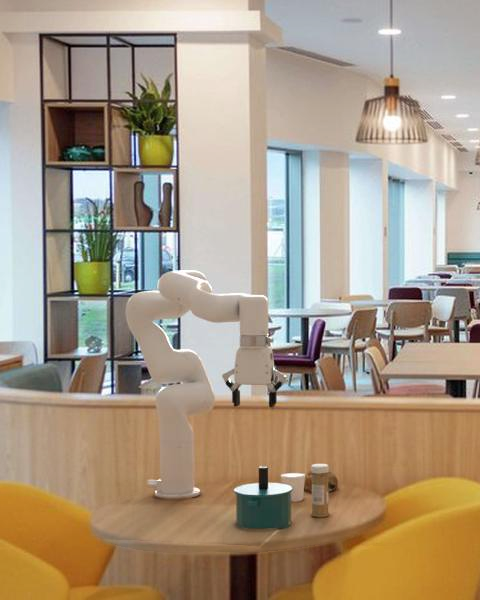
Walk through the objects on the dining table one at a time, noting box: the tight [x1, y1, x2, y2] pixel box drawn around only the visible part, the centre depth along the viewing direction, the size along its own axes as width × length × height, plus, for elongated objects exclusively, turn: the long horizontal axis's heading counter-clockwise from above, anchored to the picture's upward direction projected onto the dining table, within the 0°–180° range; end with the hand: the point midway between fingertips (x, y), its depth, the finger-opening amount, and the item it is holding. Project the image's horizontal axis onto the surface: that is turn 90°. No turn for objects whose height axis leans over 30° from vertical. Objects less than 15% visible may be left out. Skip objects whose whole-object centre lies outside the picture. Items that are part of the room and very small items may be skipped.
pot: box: [235, 493, 292, 530], centre depth 270 cm, size 14×19×8 cm
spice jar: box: [310, 463, 330, 518], centre depth 279 cm, size 5×5×14 cm
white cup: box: [280, 472, 306, 503], centre depth 298 cm, size 7×7×7 cm
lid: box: [234, 465, 292, 497], centre depth 270 cm, size 15×15×7 cm
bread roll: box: [304, 469, 339, 493], centre depth 311 cm, size 10×10×8 cm
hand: (254, 406), depth 282 cm, fingers open, 9 cm apart
